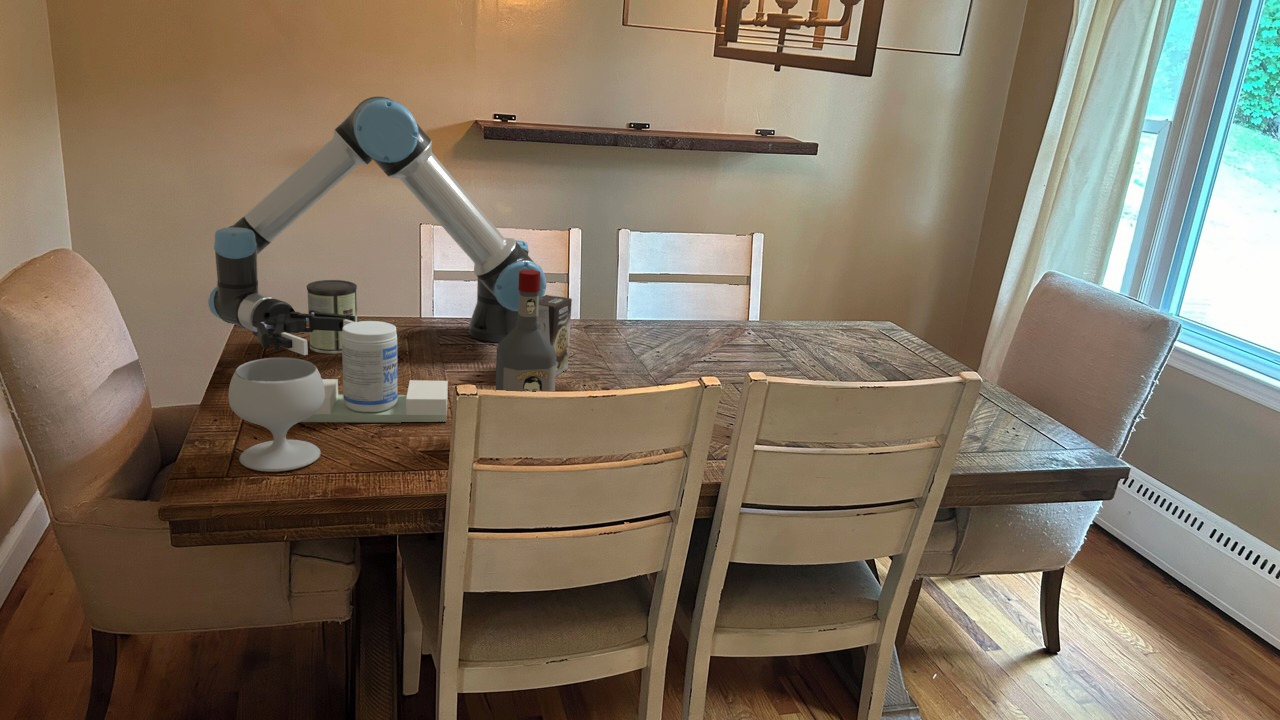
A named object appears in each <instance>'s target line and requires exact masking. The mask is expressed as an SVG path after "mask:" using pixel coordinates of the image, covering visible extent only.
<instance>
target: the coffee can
mask: <svg viewBox="0 0 1280 720" xmlns="http://www.w3.org/2000/svg"><path fill="white" fill-rule="evenodd" d="M357 286H358V285H357V284H356V283H354V282H353V281H348V280H342V279H329V280H328V279H325V280H323V279H322V280H317V281H312V282H308V284H307V285H306V290H307V310H308V311H307V312H308V313H307V314H309V311H310V310H314V311H318V312H324V313H333V314H341V315H347V314H349V315H350V316H355V322H358V315H357V314H358V313H357V311H358V309H357V308H358V307H357V306H358V305H357V304H358V303H357V290H358V287H357ZM308 333H309V350H311V351H313V352H315V353H320V354H329V355H331V354H333V355H336V354H342V334H343V331H325V330H314V331H313V332H308Z"/></svg>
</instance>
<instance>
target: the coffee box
mask: <svg viewBox="0 0 1280 720" xmlns="http://www.w3.org/2000/svg"><path fill="white" fill-rule="evenodd" d="M572 301H573V299H572V298H570V297H566V296H565V297H563V296H558V295H557V296H556V295H549V294H544V296H543V297H540V298H539V302H538V323H539V329H540V330H541V332H542V333H543V334H544V336H545V337H546V338H547V340H548V341H549V342H550V344H551V345H552V346H553V348H554V349H555V352H556V356H557V358H556V377H558V376H559V375H561V374H562V373H564V372H566V371H567V370H568V369H569V356H570V355H569V354H570V338H571V337H570V333H571V332H570V331H571V316H572ZM565 370H566V371H565ZM563 371H564V372H563Z"/></svg>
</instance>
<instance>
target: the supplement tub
mask: <svg viewBox="0 0 1280 720" xmlns="http://www.w3.org/2000/svg"><path fill="white" fill-rule="evenodd" d="M341 355H342V359H341V360H342V392H343V394H342V395H343V398H344V404H345V405H346V406H347V407H348V408H349V409H351V410H354V411H359V412H378V411H384V410H387V409H390V408H392V407H393V406H395V404H396V403H397V395H398V334H397V327H396V325H394V324H393V323H389V322H385V321H380V320H379V321H378V320H377V321H376V320H363V321H362V320H360V321H357V322H353V323H349V324H347V325H345V326H344V327H343V334H342V353H341Z"/></svg>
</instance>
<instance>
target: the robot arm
mask: <svg viewBox="0 0 1280 720" xmlns="http://www.w3.org/2000/svg"><path fill="white" fill-rule="evenodd" d="M332 135H333V137H332V138H331V139H330V140H328V141H327V142H326V143H325V144H324V145H323V146H322V147H320V149H319V150H317V151H316V152H315V153H313V155H311V157H309V158H308V159H307V160H305V162H303V164H301V165H300V166H299V167H298V168H297V169H296V170H294V171H293V172H292V173H291V174H290V175H289V176H288V177H286V179H284V180H283V181H282V182H281V183H280V184H279V185H278V186H276V187H275V188H274V189H273V190H271V191H270V192H269V193H268V194H267V195H266V196H265V197H264V198H263V199H262V200H260V201H259V202H258V203H257V204H256V205H255V206H253V207H252V208H251V209H250V210H248V211H247V213H245V214H244V216H242V217H241V218H240V219H238V221H236V222H235V223H234V224H233V225H230V226H228V227H223V228H219V229H217V230H216V231H215V233H214V245H213V249H214V254H215V265H216V266H215V267H216V277H217V281H216V287H214V288H213V289H212V291H211V293H210V295H209V297H208V300H207V301H208V308H209V311H210V312H211V313H212V315H214V316H215V317H217V318H218V319H220V320H222V321H223V322H225V323H228V324H232V325H236V326H238V327H241V328H243V329H247V330H250V331H252V335H253V336H256V337H257V339H258V341H259V342H260V345H261V348H263V349H269V348H270V346H273V351H274V352H280V351H281V347H282V348H284V349H285V350H288V351H292V352H295V353H296V354H297V353H298V354H299V355H302V356H306V355H307V356H308V355H309V353H308V352H309V350H308V349H309V348H308V339H306V338H303V337H300V336H297V335H294V334H298V333H309V332H313V331H314V330H325V331H343V327H344V326H345V325H347V324H349V323H353V322H355V316H350V315H349V314H347V315H341V314H333V313H324V312H318V311H314V310H310V311H309V314H308V313H303V312H302V313H301V312H300V311H295V309H294V308H293V306H292V305H291V304H290V303H288V302H286V301H283V300H280V299H277V298H274V297H272V296H267V295H266V294H261V293H259V280H258V255H259V254H261V252H262V251H263V250H264V249H266V248H267V247H268V246H269V245H270V244H271V243H272V242H273V241H274V240H275V239H276V238H278V236H280V235H281V234H282V233H283V232H284V231H285V230H286V229H288V228H289V227H290V226H292V224H294V223H295V221H296V222H297V220H298V219H300V217H302V215H304V214H305V213H306V212H307V211H308V210H309V209H311V208H312V207H313V206H314V205H315V204H316V203H318V202H319V201H320V200H321V199H322V198H323V197H324V196H326V195H327V194H328V193H329V192H330V191H332V189H334V188H335V187H336V186H338V184H340V183H341V182H342V181H343V180H344V179H345V178H346V177H347V176H348V175H350V174H351V173H352V172H353V171H355V170H356V169H357V168H358V167H359V166H367V165H369V164H370V163H371V162H375V164H376V165H377V166H378V167H379V168H380V169H381V170H382V171H383V173H384V174H385V175H386V176H387V177H388V178H391V179H392V178H393V179H399V180H400V181H402V183H403V184H404V185H405V187H406V188H408V190H409V191H410V192H411V194H413V195H414V197H415V198H416V199H417V200H418V201H419V202H420V204H422V206H423V207H425V209H426V211H428V212H429V213H430V214H431V215H432V217H433V218H434V219H435V220H436V222H438V224H440V226H441V227H442V229H444V231H445V232H446V233H447V234H448V235H449V236H450V237H451V239H452V240H453V241H454V242H455V243H456V244H457V245H458V246H459V247H460V249H461V250H462V251H463V252H464V253H465V254H466V255H467V256H468V257H469V259H470V260H471V261H472V263H474V267H473V273H474V275H475V276H476V277H477V283H476V285H477V290H476V291H477V292H476V295H477V296H476V298H477V299H476V303H475V307H474V310H473V313H472V316H471V318H470V321H469V324H468V334H469V335H470V336H471V337H473V338H474V339H477V340H481V341H484V342H492V343H499V342H500V341H502V340H503V339H504V338H505V337H506V336H507V335H508V334H509V333H510V332H511V331H512V330H513V329H514V328H515V327H516V322H517V320H518V307H519V290H518V286H519V271H521V270H536V271H539V272H540V291H539V298H540V297H543V296H545V295H546V290H547V279H546V275H545V273H544V270H543V269H542V267H541V266H540V265H539V264H537V263H536V262H534V260H533V259H532V258H531V256H529V252H530V250H529V244H528V242H527V241H524V240H520V239H519V240H517V239H515V238H510V237H504V236H503V234H502V233H501V232H500V231H499V230H498V229H497V227H496V226H495V225H494V224H493V222H491V220H490V219H489V218H488V217H487V216H486V215H485V213H484V212H483V211H482V210H481V209H480V208H479V206H478V205H477V204H476V203H475V202H474V200H473V198H471V197H470V196H469V194H468V193H467V192H466V191H465V190H464V188H463V187H462V186H461V185H460V183H458V182H457V180H456V179H455V178H454V176H453V175H451V173H450V172H449V171H448V169H447V168H446V167H445V166H444V165H443V164H442V162H441V161H440V160H439V159H438V158H437V157H436V155H435V154H434V153H433V150H432V146H433V141H432V139H431V138H430V137H429V136H428V134H427V133H426V132H425V131H424V130H423V128H421V126H420V125H419V124H418V123H417V121H416V119H415V117H414V115H413V114H412V112H410V110H409V109H408V108H407V107H406V106H405V105H403V104H402V103H400V102H399V101H396V100H393V99H391V98H388V97H385V96H371V97H369V98H365V99H364V100H363V101H361V102H360V103H359V104H358V105H356V107H355V108H354V109H353V110H352V111H351V112H350V113H349V115H348V116H347V117H346V118H345V119H344V120H343V121H342V122H341V123H340V124H339V125H337V127H336V128H335V129H333V134H332ZM307 322H308V327H307ZM291 333H292V334H291Z"/></svg>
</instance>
